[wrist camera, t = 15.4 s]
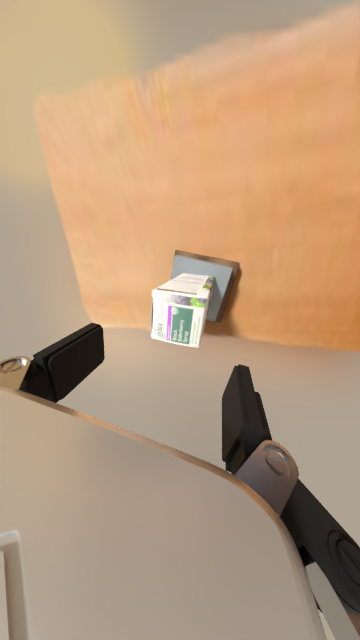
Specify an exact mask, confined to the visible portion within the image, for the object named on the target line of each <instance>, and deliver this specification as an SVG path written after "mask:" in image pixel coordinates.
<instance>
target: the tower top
mask: <svg viewBox="0 0 360 640" xmlns="http://www.w3.org/2000/svg"><path fill="white" fill-rule="evenodd" d="M231 272H232V268H231V267H228V266H224V265H220V264H215V263H211V262H207V261H202V260H198V259H194V258H190V257H185V256H181V255H175V258H174V264H173V269H172V275H171V280H172V279H174V278H175V277H177V276H179V275H181V274H183V273H188V274H196V275H206V276H214V277H215V278H214V284H213V291H212V296H211V301H210V306H209V311H208V315H207V319H206V320H210V321H214V322H215V320H216V317H217V314H218V311H219V308H220V305H221V302H222V299H223V296H224V293H225V290H226V287H227V284H228V281H229V278H230V275H231Z"/></svg>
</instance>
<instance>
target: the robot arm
mask: <svg viewBox="0 0 360 640" xmlns="http://www.w3.org/2000/svg"><path fill="white" fill-rule="evenodd" d="M33 357H34V359H33V360H30V358H28V357H25V356H18V357H12V358H8V359H5V360H3V361H1V362H0V640H327V639H326V636H325V632H324V629H323V626H322V622H321V619H320V616H319V612H318V609H319V610H320V611H321V612H322V613H323V615H324V617H325V619H326V621H327V623H328V624H329V627H330V629H331V631H332V633H333V635H334V637H335V639H336V640H360V547H359V546H358V545H357V544H356V542H355V541H354V540H353V539H352V538H351V537H350V536H349V535H348V533H347V532H346V531H345V530H344V529H343V528H342V527H341V526H340V525H339V523H338V522H337V521H336V520H335V519H334V518H333V517H332V516H331V515H330V513H328V511H327V510H326V509H325V508H324V507H323V506H322V504H321V503H320V502H319V501H318V500H317V499H316V498H315V497H314V496H313V494H312V493H311V492H310V491H309V490H308V489H307V488H306V487H305V486H304V484H303V483H301V481H300V480H299V479H298V476H299V473H298V468H297V466H296V463H295V461H294V459H293V458H292V456H291V455H290V454H289V453H288V451H287V450H286V449H285V448H284V447H282V446H281V445H280V444H278V443H276V442H274V441H272V438H271V434H270V431H269V427H268V423H267V419H266V416H265V412H264V408H263V404H262V400H261V397H260V394H259V393H258V392H255V391H254V387H253V383H252V378H251V374H250V370H249V367H247V366H243V365H238V366H235V367H234V369H233V372H232V374H231V377H230V379H229V381H228V384H227V386H226V389H225V391H224V394H223V397H222V460H223V461H224V462H226V471H225V470H223V469H221V468H219V467H217V466H215V465H213V464H211V463H209V462H206V461H204V460H202V459H199V458H197V457H194V456H192V455H189V454H187V453H184V452H182V451H179V450H177V449H175V448H172V447H169V446H167V445H164V444H162V443H159V442H156V441H154V440H151V439H149V438H146V437H144V436H141V435H139V434H136V433H133V432H131V431H128V430H125V429H123V428H120V427H118V426H115V425H112V424H110V423H107V422H104V421H102V420H99V419H97V418H94V417H91V416H88V415H86V414H83V413H81V412H78V411H76V410H73V409H70V408H67V407H65V406H62V405H59V404H57V402H58V401H59V400H61V399H63V398H64V397H65V396H66V395H68V393H70V392H71V391H72V390H73V389H74V388H75V387H76V386H77V385H78V384H79V383H80V382H82V381H83V380H84V378H86V377H87V376H88V375H89V374H90V373H91V372H92V371H93V370H94V369H96V368H97V367H98V366H99V365H100V364H101V363H102V362H103V360H104V339H103V328H102V327H101V325H99V324H95V323H90V324H89V325H87V326H85V327H83V328H81V329H80V330H78V331H76V332H74V333H72V334H70V335H69V336H67V337H65V338H63V339H61V340H60V341H58V342H56V343H54V344H52V345H50V346H49V347H47V348H45V349H43V350H41V351H40V352H38V353H36V354H34V355H33ZM227 471H229V472H232V474H230V473H229V472H227Z"/></svg>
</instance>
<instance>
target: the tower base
mask: <svg viewBox="0 0 360 640" xmlns="http://www.w3.org/2000/svg"><path fill="white" fill-rule="evenodd" d="M175 255H181V256H185V257H190V258H194V259H198V260H202V261H207V262H211V263H215V264H220V265H224V266H228V267H231V268H232V272H231V275H230V278H229V281H228V284H227V287H226V290H225V293H224V296H223V299H222V302H221V305H220V308H219V311H218V314H217V317H216V320H215V321H217V322H221V320H222V317H223V313H224V310H225V307H226V304H227V301H228V298H229V295H230V292H231V289H232V285H233V282H234V279H235V276H236V273H237V270H238V267H239V264H240V263H238V262H234V261H229V260H224V259H219V258H214V257H209V256H204V255H199V254H194V253H189V252H184V251H179V250H175ZM174 258H175V256H174ZM173 264H174V263H173Z"/></svg>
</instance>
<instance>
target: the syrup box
mask: <svg viewBox="0 0 360 640" xmlns="http://www.w3.org/2000/svg"><path fill="white" fill-rule="evenodd" d="M214 278H215V277H214V276H206V275H196V274H188V273H183V274H181V275H179V276H177V277H175V278H174V279H172V280H170V281H168V282H167V283H165V284H163V285H161V286H159V287H158V288H156V289H154V290H153V291H152V309H151V338H153V339H157V340H161V341H165V342H169V343H174V344H178V345H184V346H190V347H197V348H199V346H200V342H201V338H202V334H203V330H204V327H205V323H206V319H207V315H208V311H209V306H210V301H211V296H212V291H213V284H214Z"/></svg>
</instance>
